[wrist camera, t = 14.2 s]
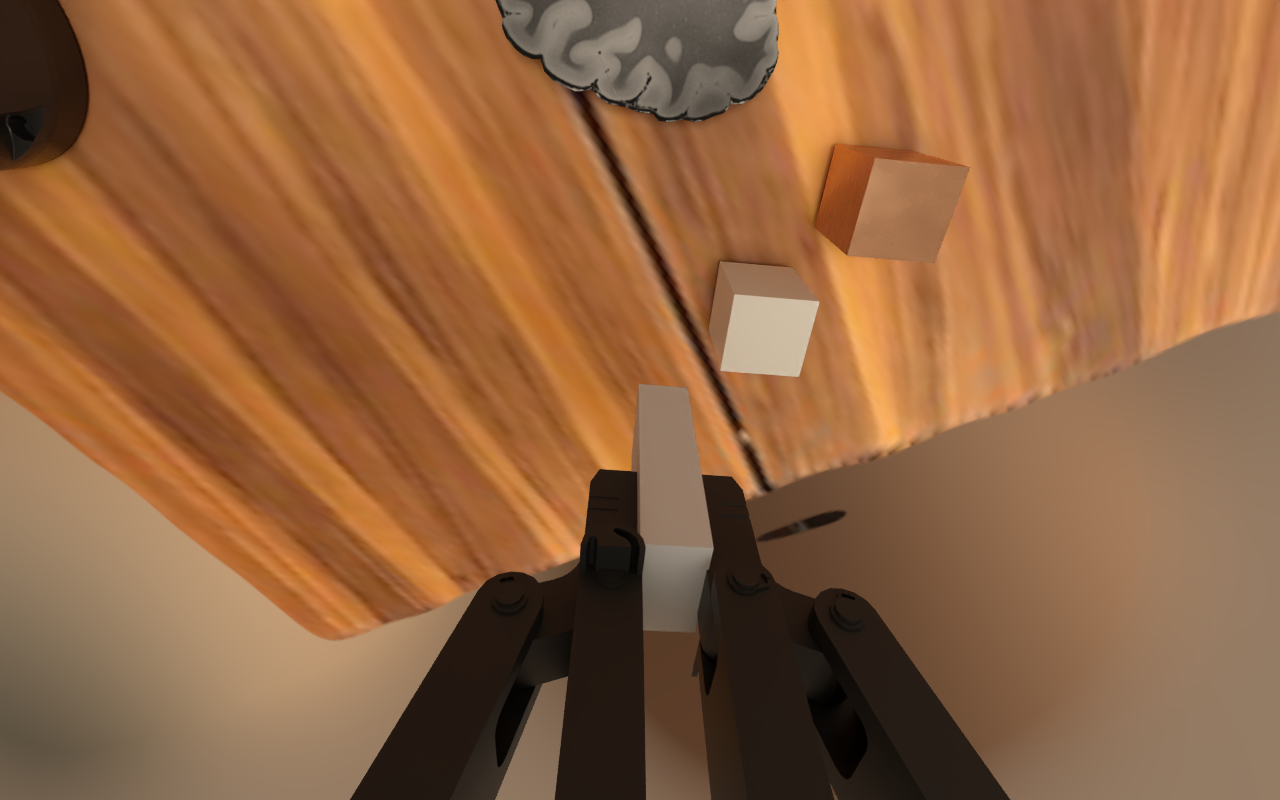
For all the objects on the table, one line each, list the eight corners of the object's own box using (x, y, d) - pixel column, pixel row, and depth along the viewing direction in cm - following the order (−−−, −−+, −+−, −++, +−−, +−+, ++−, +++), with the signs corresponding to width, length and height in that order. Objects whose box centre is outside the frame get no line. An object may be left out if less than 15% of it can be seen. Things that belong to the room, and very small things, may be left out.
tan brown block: (810, 223, 38) (846, 255, 31) (831, 142, 35) (875, 158, 29) (883, 230, 38) (934, 263, 32) (908, 149, 36) (970, 167, 29)
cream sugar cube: (708, 329, 41) (720, 370, 35) (720, 261, 38) (734, 294, 33) (776, 334, 41) (799, 376, 36) (792, 267, 39) (819, 301, 33)
